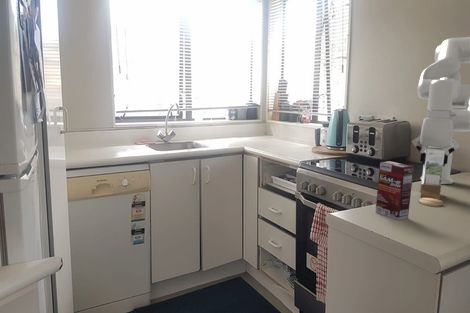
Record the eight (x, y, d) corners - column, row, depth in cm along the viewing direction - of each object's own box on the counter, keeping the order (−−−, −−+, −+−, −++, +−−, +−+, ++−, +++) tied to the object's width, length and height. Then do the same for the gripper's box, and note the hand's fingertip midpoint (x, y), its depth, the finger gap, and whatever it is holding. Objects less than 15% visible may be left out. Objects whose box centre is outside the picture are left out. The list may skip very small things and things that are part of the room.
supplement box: (374, 212, 119) (378, 161, 117) (385, 210, 122) (389, 160, 119) (398, 220, 112) (403, 166, 109) (409, 218, 114) (414, 165, 112)
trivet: (419, 199, 136) (419, 196, 136) (441, 202, 133) (441, 199, 133) (419, 204, 130) (419, 201, 130) (442, 207, 127) (442, 204, 127)
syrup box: (438, 186, 144) (442, 147, 141) (440, 190, 139) (445, 150, 136) (421, 184, 146) (425, 146, 143) (422, 188, 140) (427, 148, 138)
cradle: (420, 191, 148) (421, 178, 147) (437, 193, 145) (439, 180, 144) (420, 197, 139) (422, 184, 138) (439, 200, 136) (441, 186, 135)
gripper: (465, 115, 137) (459, 165, 141) (412, 113, 144) (407, 160, 148) (467, 116, 130) (461, 169, 134) (411, 114, 138) (406, 164, 141)
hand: (433, 164), depth 141 cm, fingers closed on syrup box, 6 cm apart
